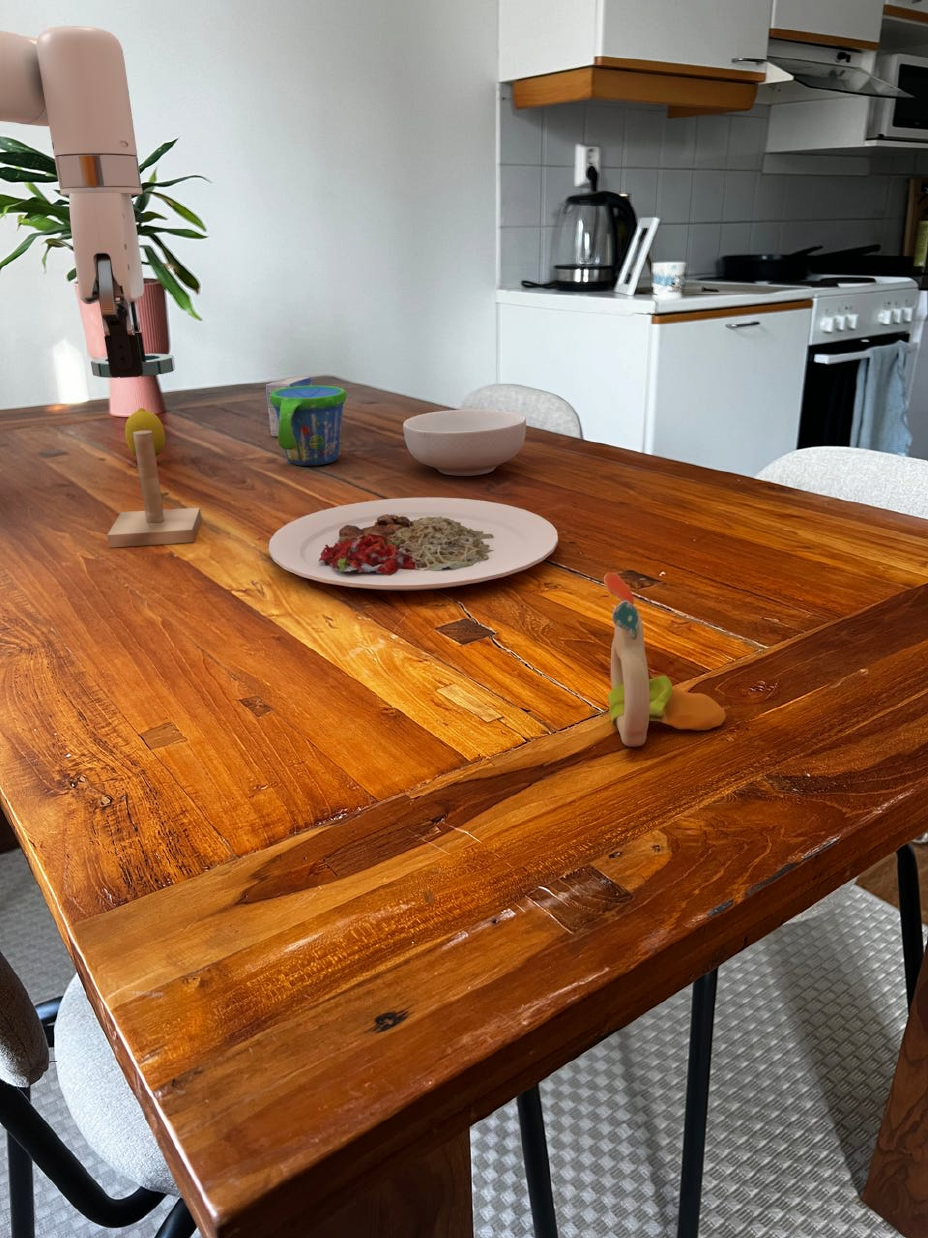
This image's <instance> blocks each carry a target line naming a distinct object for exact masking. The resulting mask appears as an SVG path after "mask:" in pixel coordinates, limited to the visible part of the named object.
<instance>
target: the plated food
mask: <svg viewBox="0 0 928 1238" xmlns="http://www.w3.org/2000/svg"><path fill="white" fill-rule="evenodd" d="M558 537H559V536H558V530H557V529H556V528H555V527H554V525H553V524H552V523H551V522H550V521H548V520H547V519H545V518H544V517H542V516H541V515H538V514H536V513H533V512H530V511H529V510H526V509H523V508H520V507H517V506H516V507H515V506H512V505H508V504H503V503H498V502H493V501H487V500H479V499H470V498H458V497H401V498H386V499H377V500H368V501H362V502H355V503H349V504H343V505H338V506H335V507H331V508H326V509H321V510H318V511H316V512H313V513H310V514H306V515H304V516H301V517H299V518H297V519H295V520H292V521H290V522H288V523H286V524H285V525H283V526H282V527H280V528H279V529H278V530H276V532H274V533H273V535H272V536H271V538H270V539H269V544H268V553H269V555H270V556H271V559H272V561H273V562H275V564H277V565H278V566H280V567H281V568H282V569H284V570H286V571H287V572H290V573H293V574H295V575H296V576H299V577H301V578H306V579H310V580H314V581H317V582H319V583H324V584H330V585H336V586H337V585H338V586H344V587H350V588H361V589H367V590H368V589H369V590H380V591H381V590H382V591H425V590H439V589H445V588H446V589H447V588H453V587H460V586H461V587H462V586H465V585H470V584H477V583H482V582H485V581H489V580H494V579H499V578H504V577H507V576H509V575H512V574H515V573H518V572H522V571H524V570H527V569H529V568H531V567H533V566H535V565H537V564H539V563H541V562H543V561H544V560H546V558H547V557H549V556H550V555H551V554H553V553H554V552H555V549H556V548H557V545H558V544H559V538H558Z"/></svg>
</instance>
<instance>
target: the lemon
mask: <svg viewBox="0 0 928 1238" xmlns="http://www.w3.org/2000/svg"><path fill="white" fill-rule="evenodd" d="M137 431H152V434H153V441H154V448H155V455H156V457H158V456H160V454H161V453H163V450H164V449H165V445H166V432H165V429H164V425H163V423H162V421H161V419H160V418H159V417H158V416H157V415H156V414H155V413H154V412H152V411H150V410H146V409H145V408H144V407H140V408H138V409H137V410H136V411H135V412H133V413H131V414H130V415H129V417H128V418H127V419H126V423H125V428H124V437H125V442H126V445H127V447H128V449H129V451H130V452H131V453H132V454H133V455H134V456H136V449H135V443H134V436H133V433H134V432H137Z"/></svg>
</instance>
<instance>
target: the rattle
mask: <svg viewBox="0 0 928 1238" xmlns="http://www.w3.org/2000/svg"><path fill="white" fill-rule="evenodd" d="M603 584H604V586H605V588H606V590H607V591H608V592H609V594H611V595H613V596H614V597H617V599H619V600H620V602H619V603H618V604H617V605H615V608H613V611H612V617H611V618H612V622H613V624H614V631H613V633H614V635H613V639H612V642H611V648H610V683H611V690H610V692H609V693H608V694H607V701H608V705H609V706H608V707H609V710H608V713H609V715H610V721H611V725H612V726H613V727H614V728H617V729H618V732H619V734H620V739H621V743H622V744H623V745H624V746H626V747H631V748H635V747H636V748H637V747H641V746H643V745H644V744H645V742H646V741H647V733H648V729H649V722H660V723H661V724H665V725H666V726H667V725H668V726H671V727H673V728H674V729H677V730H683V731H685V730H690V731H708V730H709V731H710V730H711V729H713V728H716V727H721V726H722V725H723V723H724V722H725V720H726V717H727V716H726V711H725V710H724V708H723V707H722V706H720V705H719V704H718V703H717V702H716V701H715V700H714V699H713V698H712V697H710V696H709V695H707V694H704V693H701V692H700V693H699V692H696V693H695V692H687V691H685V690H682V689H679V688H677V687H673V684H672V681H671V680H670V678H669V677H668V676H666V675H659V676H656V677H653V678H650V679H649V677H650V675H649V669H648V661H647V656H646V650H645V649H646V648H645V636H644V626H643V620H642V617H641V615H640V613H639V610H638V608H637V607H636V606H635V605H634V604H635V601H634V595H633V593H632V590H631V589H630V588H629V586H628V585H627V583H626V582H625V581H624V580H623V578H622V577H621V576H620V575H619V574H618V573H616V572H607V573H606V574H605V575H604V576H603Z"/></svg>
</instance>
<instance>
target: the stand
mask: <svg viewBox="0 0 928 1238" xmlns="http://www.w3.org/2000/svg"><path fill="white" fill-rule="evenodd" d="M133 436H134V443H135V449H136V455H135V457H136V462H137V469H138V475H139V482H140V489H141V495H142V504H143V510H136V511H121V512H120V514H119V515H118V517H117V518H116V520H115V521H114V523H113V525H112V526H111V527H110V529H109V531H108V532H107V534H106V537H107V543H108V548H111V549H112V548H128V547H129V548H130V547H142V546H144V547H145V546H159V545H175V544H189V543H190V544H191V543H195V541H196V537H197V533H198V531H199V528H200V525H201V522H202V512H201V508H200V507H187V508H171V509H169V508H168V509H164V505H163V499H162V498H163V497H162V492H161V484H160V477H159V469H158V463H157V456H156V455H155V448H154V441H153V434H152V431H137V432H134V433H133Z"/></svg>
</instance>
